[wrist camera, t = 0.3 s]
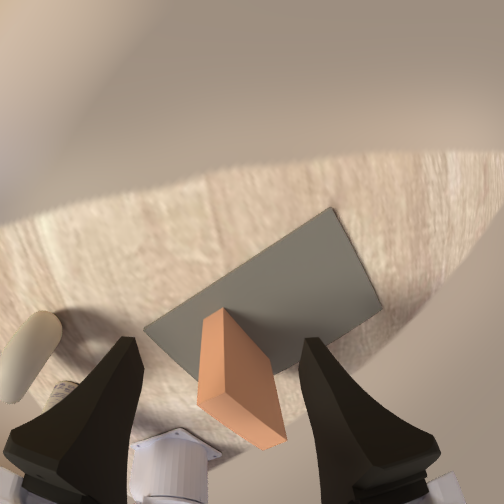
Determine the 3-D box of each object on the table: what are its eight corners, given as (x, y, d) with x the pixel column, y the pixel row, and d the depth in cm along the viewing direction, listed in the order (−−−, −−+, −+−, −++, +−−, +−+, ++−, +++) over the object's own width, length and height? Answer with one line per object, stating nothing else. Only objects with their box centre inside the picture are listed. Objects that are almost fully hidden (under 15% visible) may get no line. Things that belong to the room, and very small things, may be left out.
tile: (251, 369, 26) (262, 450, 17) (203, 319, 23) (196, 405, 15) (269, 359, 25) (287, 440, 17) (223, 307, 23) (225, 392, 15)
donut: (55, 283, 21) (-6, 352, 12) (82, 310, 23) (33, 388, 13) (22, 338, 23) (-22, 399, 14) (45, 359, 24) (7, 425, 15)
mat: (221, 398, 27) (221, 401, 27) (144, 327, 24) (143, 330, 23) (380, 307, 25) (382, 309, 25) (329, 206, 21) (331, 208, 21)
